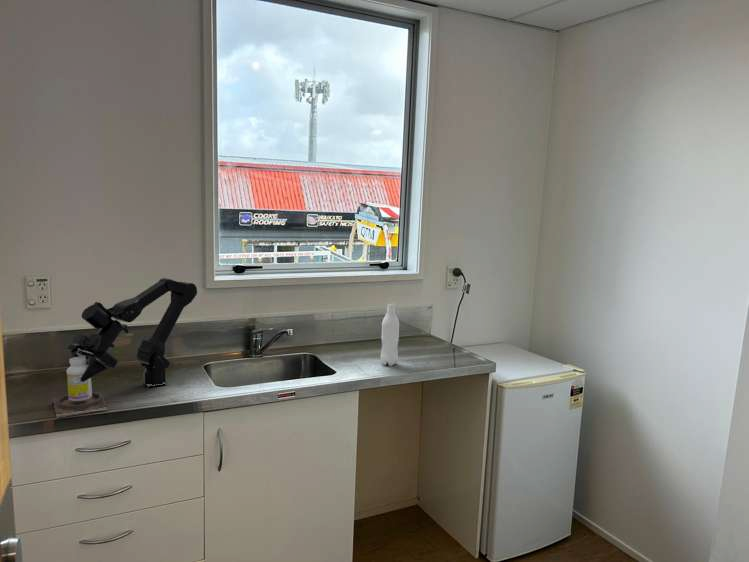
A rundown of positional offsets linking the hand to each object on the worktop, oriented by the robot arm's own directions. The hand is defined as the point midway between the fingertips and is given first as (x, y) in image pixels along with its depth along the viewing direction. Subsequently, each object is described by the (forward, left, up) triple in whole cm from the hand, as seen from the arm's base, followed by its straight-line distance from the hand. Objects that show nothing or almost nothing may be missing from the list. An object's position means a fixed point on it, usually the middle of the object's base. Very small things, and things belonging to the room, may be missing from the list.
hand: (75, 379), depth 180 cm
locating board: (-1, -1, -9) cm, 9 cm away
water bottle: (-114, +3, -10) cm, 115 cm away
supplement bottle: (-1, -1, -7) cm, 7 cm away
